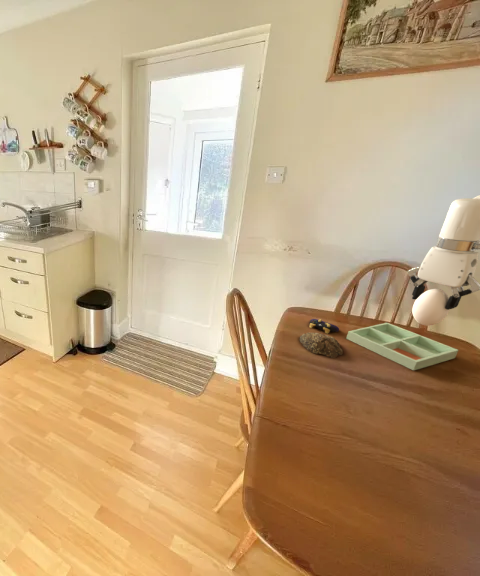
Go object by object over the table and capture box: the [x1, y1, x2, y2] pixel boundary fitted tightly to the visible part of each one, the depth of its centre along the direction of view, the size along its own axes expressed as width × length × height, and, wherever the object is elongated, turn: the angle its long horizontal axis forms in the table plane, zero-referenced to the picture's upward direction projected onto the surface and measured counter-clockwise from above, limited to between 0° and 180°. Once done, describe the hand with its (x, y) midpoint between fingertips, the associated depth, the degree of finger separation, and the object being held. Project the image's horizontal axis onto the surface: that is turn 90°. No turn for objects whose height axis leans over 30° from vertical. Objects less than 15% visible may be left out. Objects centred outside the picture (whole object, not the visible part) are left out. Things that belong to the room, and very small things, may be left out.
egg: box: [411, 288, 450, 327], centre depth 93 cm, size 7×7×12 cm
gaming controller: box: [308, 318, 340, 334], centre depth 122 cm, size 10×5×6 cm
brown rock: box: [299, 332, 343, 358], centre depth 109 cm, size 13×12×5 cm
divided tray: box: [345, 322, 459, 371], centre depth 108 cm, size 20×20×4 cm
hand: (432, 303), depth 93 cm, fingers closed on egg, 7 cm apart
